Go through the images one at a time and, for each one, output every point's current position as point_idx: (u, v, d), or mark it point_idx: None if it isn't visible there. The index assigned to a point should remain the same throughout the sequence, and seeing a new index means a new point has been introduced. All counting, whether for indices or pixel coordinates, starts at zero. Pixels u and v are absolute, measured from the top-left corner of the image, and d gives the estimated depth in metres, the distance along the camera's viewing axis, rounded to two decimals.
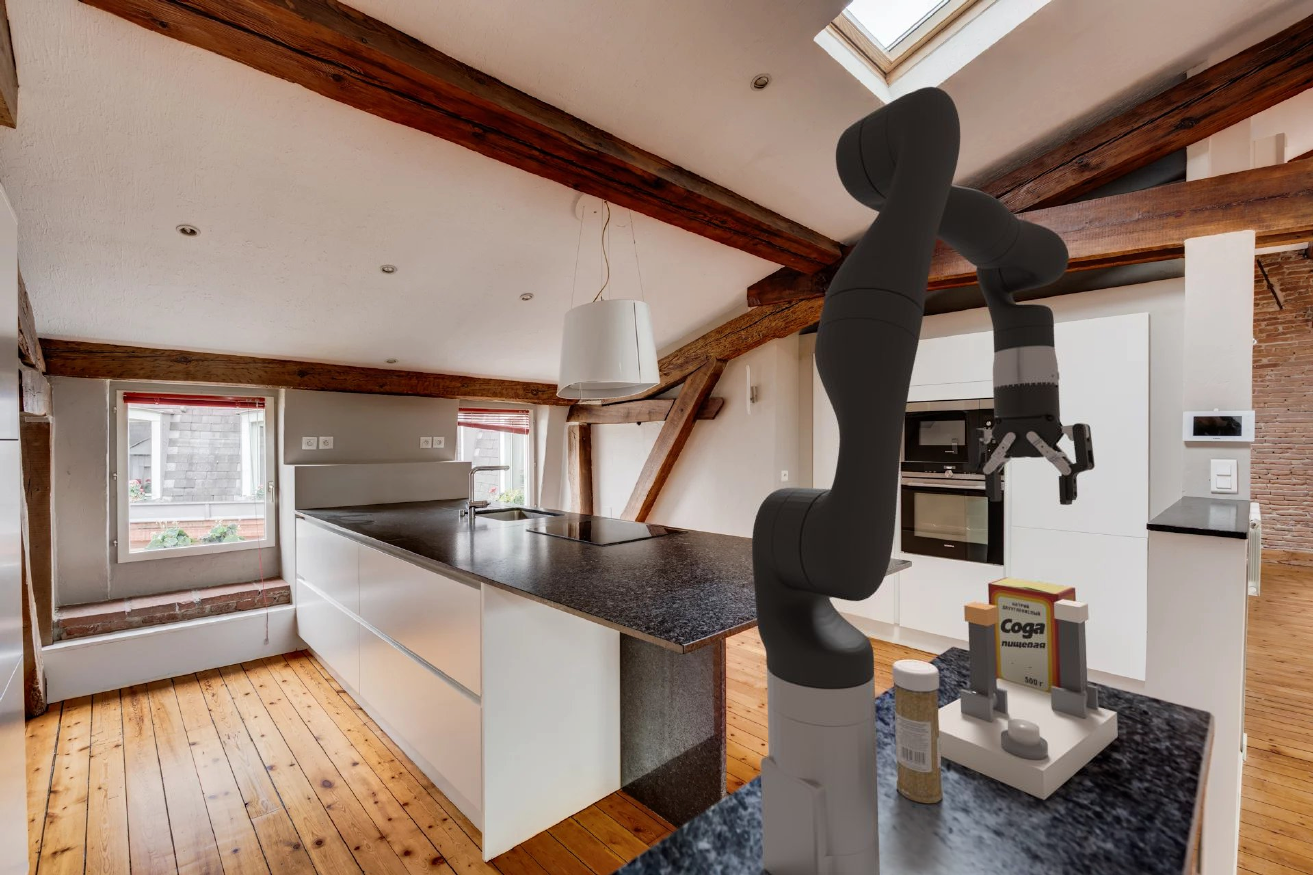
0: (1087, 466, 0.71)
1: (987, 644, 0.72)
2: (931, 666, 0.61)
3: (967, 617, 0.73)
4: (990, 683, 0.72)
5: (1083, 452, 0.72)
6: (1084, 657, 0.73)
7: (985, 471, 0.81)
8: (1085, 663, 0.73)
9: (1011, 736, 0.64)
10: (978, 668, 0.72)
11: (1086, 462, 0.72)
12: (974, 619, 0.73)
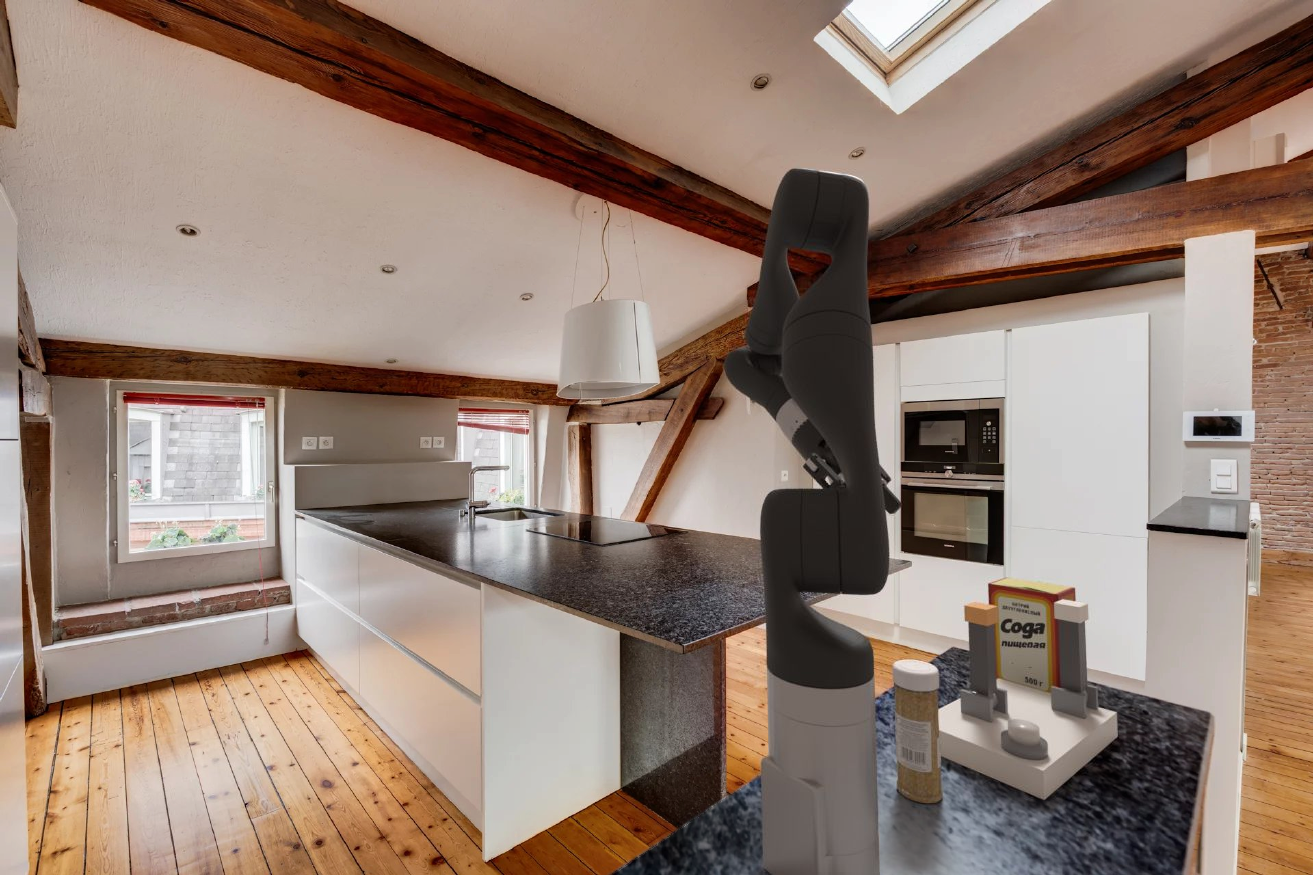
0: (889, 478, 0.84)
1: (987, 644, 0.72)
2: (931, 666, 0.61)
3: (967, 617, 0.73)
4: (990, 683, 0.72)
5: (882, 469, 0.85)
6: (1084, 657, 0.73)
7: None
8: (1085, 663, 0.73)
9: (1011, 736, 0.64)
10: (978, 668, 0.72)
11: None
12: (974, 619, 0.73)
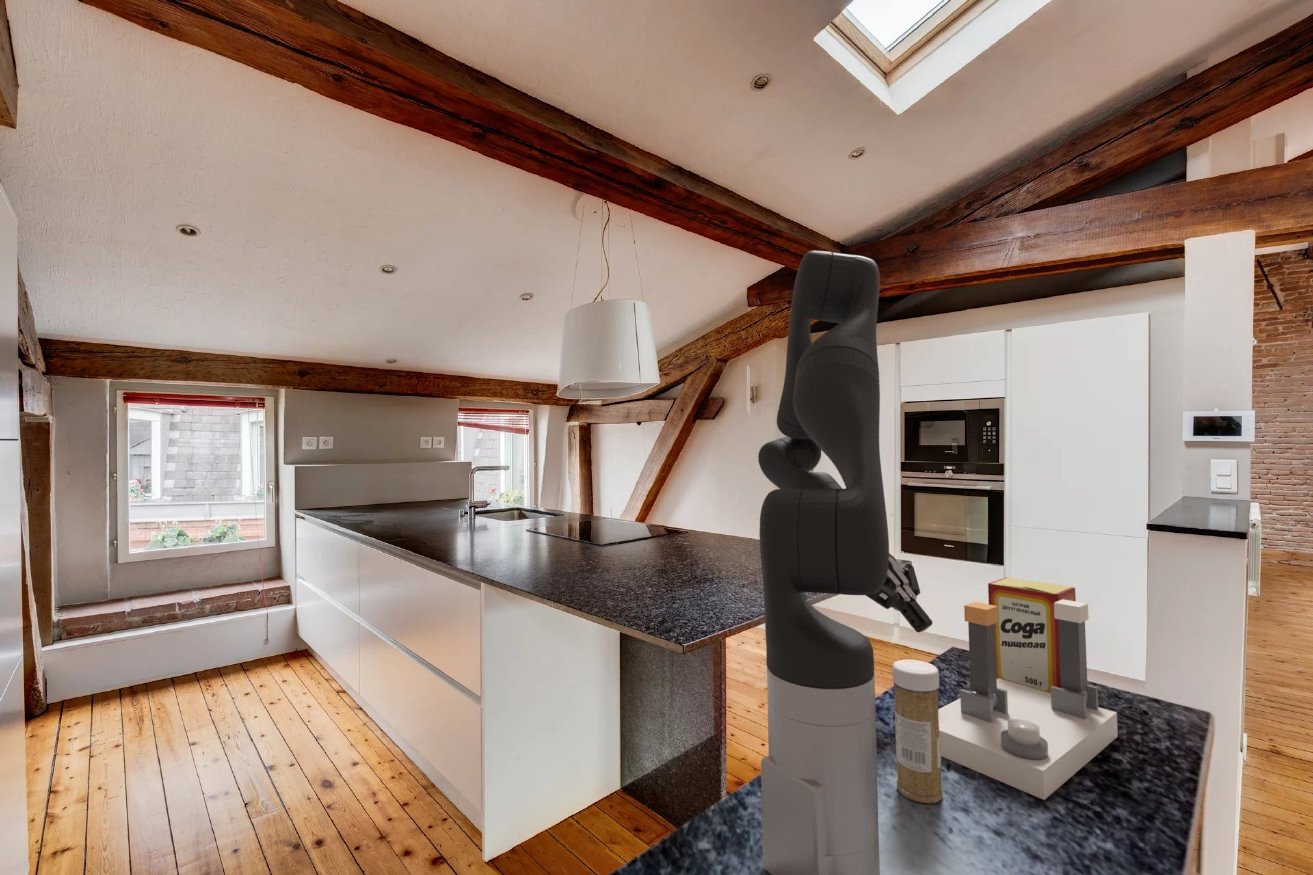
0: (918, 590, 0.83)
1: (987, 644, 0.72)
2: (931, 666, 0.61)
3: (967, 617, 0.73)
4: (990, 683, 0.72)
5: (916, 582, 0.85)
6: (1084, 657, 0.73)
7: (906, 598, 0.80)
8: (1085, 663, 0.73)
9: (1011, 736, 0.64)
10: (978, 668, 0.72)
11: None
12: (974, 619, 0.73)
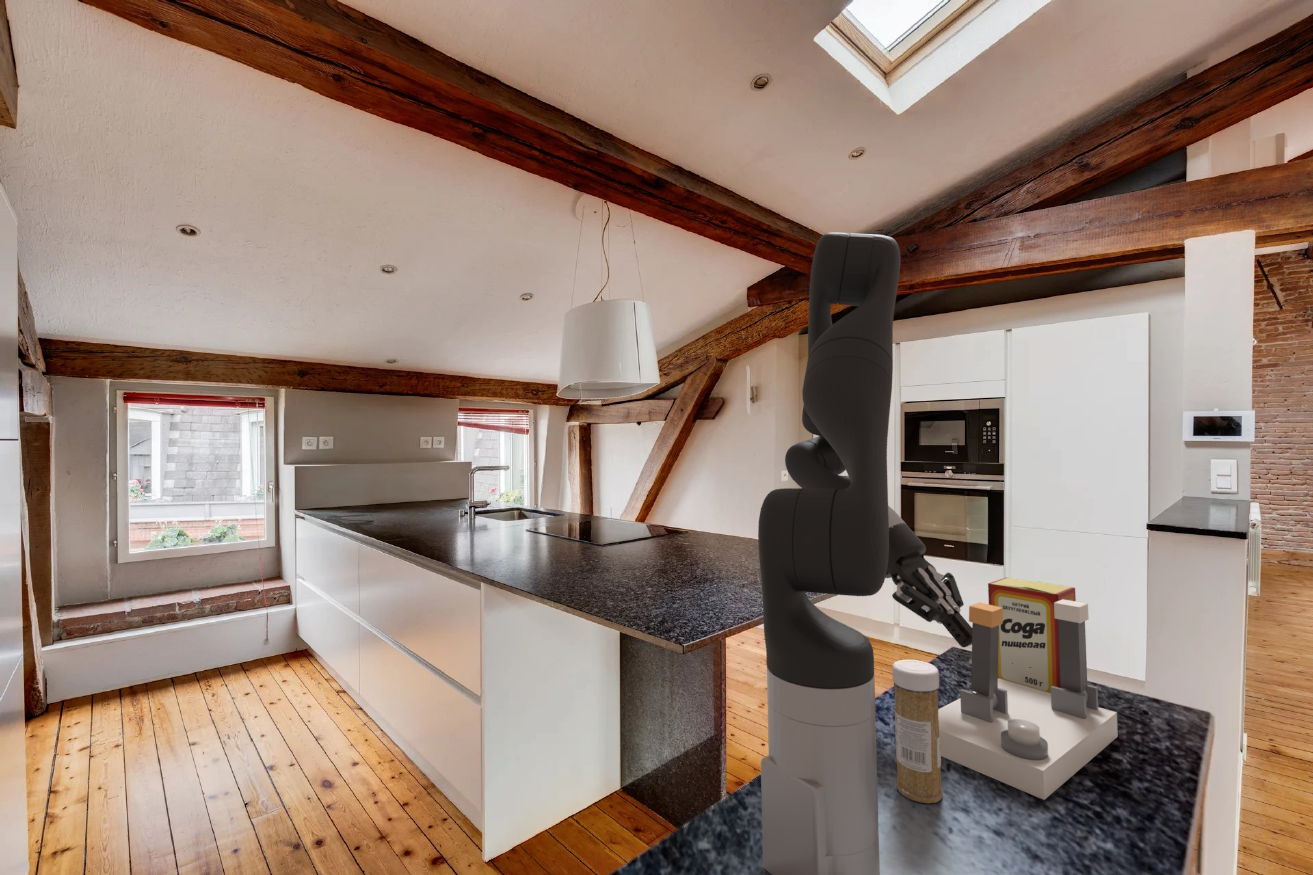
0: None
1: (990, 645, 0.71)
2: (931, 666, 0.61)
3: (971, 618, 0.73)
4: (991, 684, 0.72)
5: (958, 593, 0.79)
6: (1084, 657, 0.73)
7: (950, 611, 0.75)
8: (1085, 663, 0.73)
9: (1011, 736, 0.64)
10: (980, 669, 0.72)
11: None
12: (979, 620, 0.72)
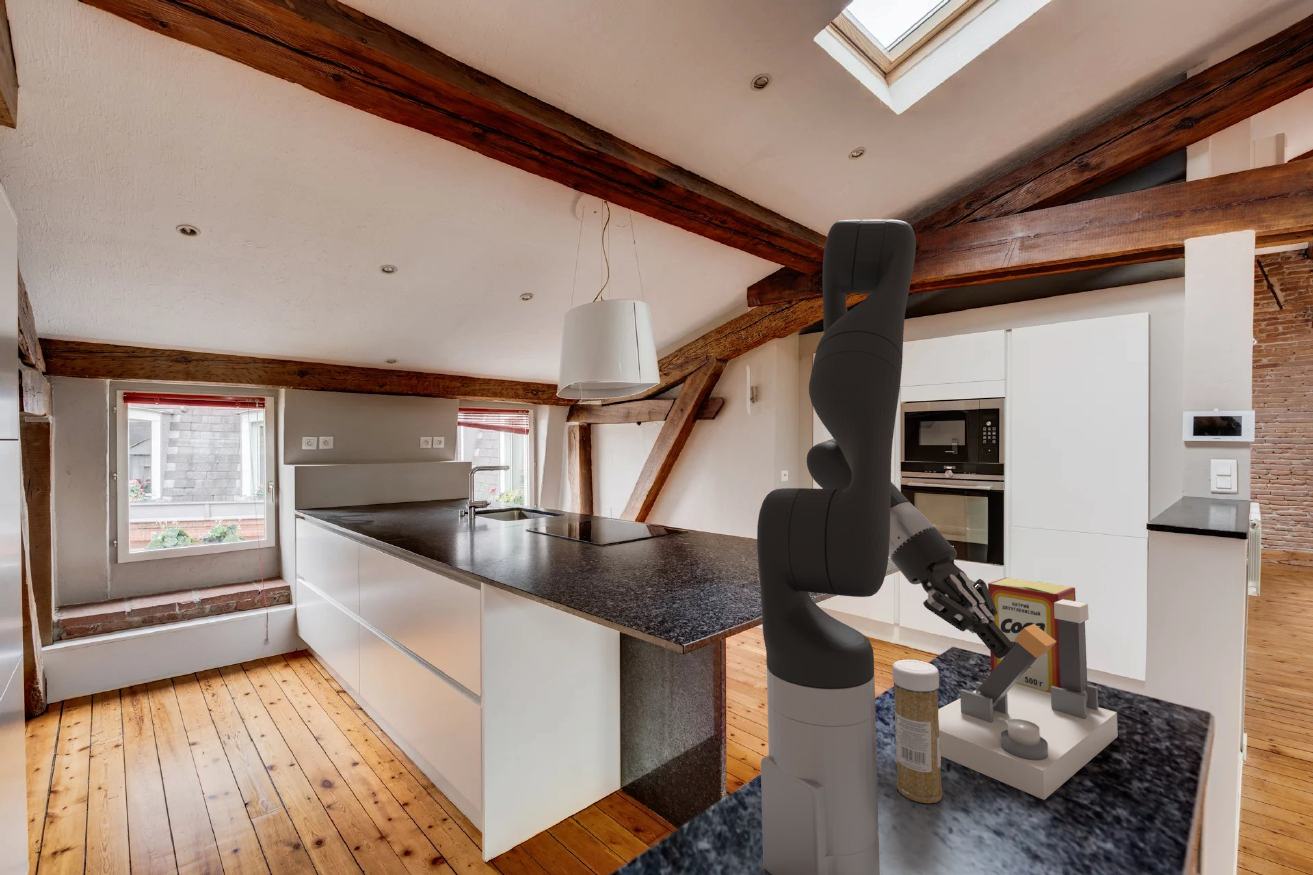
0: None
1: (1023, 669, 0.68)
2: (931, 666, 0.61)
3: (1019, 639, 0.68)
4: (1001, 695, 0.71)
5: (991, 601, 0.76)
6: (1084, 657, 0.73)
7: (985, 620, 0.72)
8: (1085, 663, 0.73)
9: (1011, 736, 0.64)
10: (998, 680, 0.71)
11: None
12: (1026, 645, 0.68)
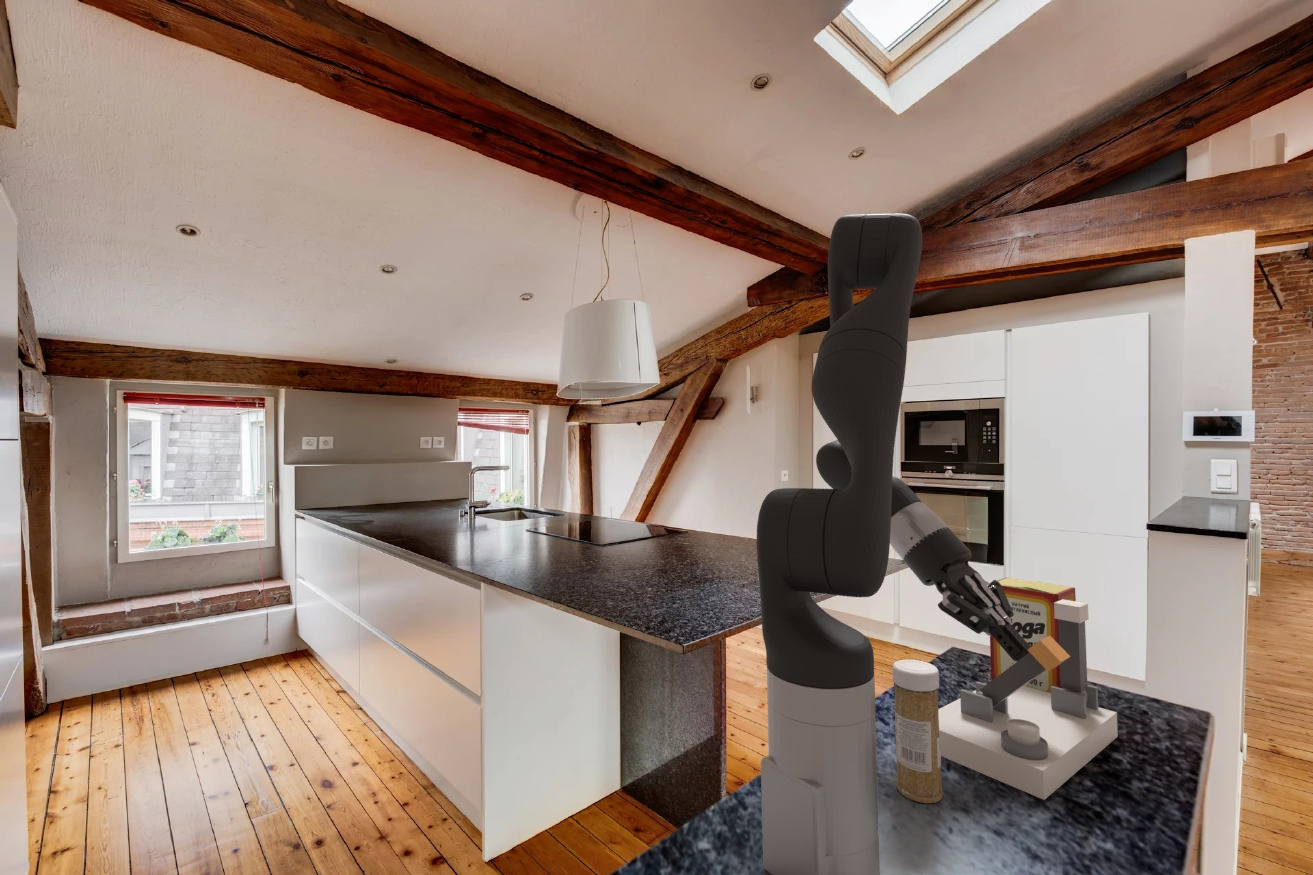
0: None
1: (1031, 679, 0.68)
2: (931, 666, 0.61)
3: (1033, 650, 0.67)
4: (1003, 699, 0.71)
5: (1007, 602, 0.74)
6: (1084, 657, 0.73)
7: (1001, 622, 0.70)
8: (1085, 663, 0.73)
9: (1011, 736, 0.64)
10: (1003, 685, 0.70)
11: None
12: (1039, 656, 0.67)
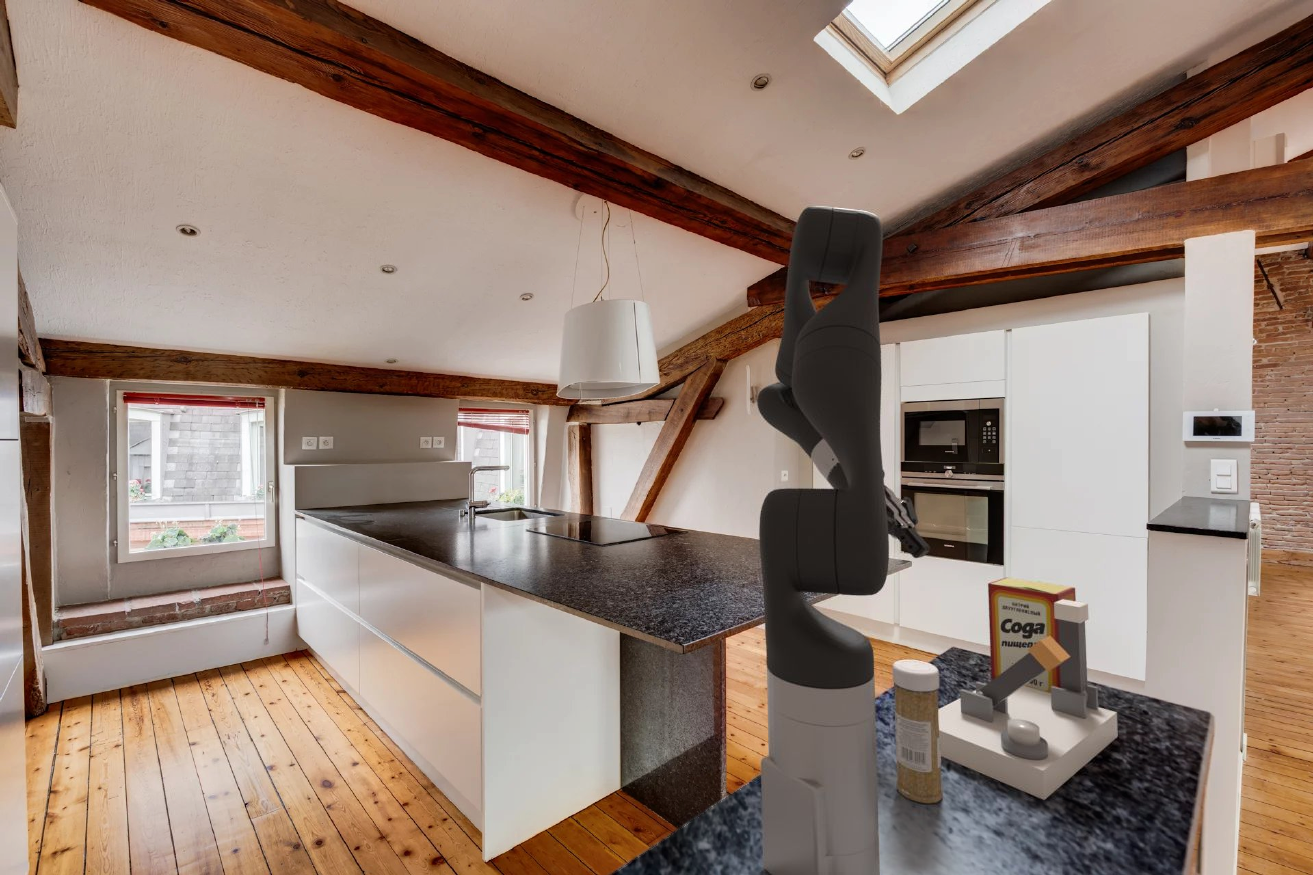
0: None
1: (1031, 679, 0.68)
2: (931, 666, 0.61)
3: (1033, 650, 0.67)
4: (1003, 699, 0.71)
5: (914, 513, 0.85)
6: (1084, 657, 0.73)
7: (904, 525, 0.81)
8: (1085, 663, 0.73)
9: (1011, 736, 0.64)
10: (1003, 685, 0.70)
11: None
12: (1039, 656, 0.67)
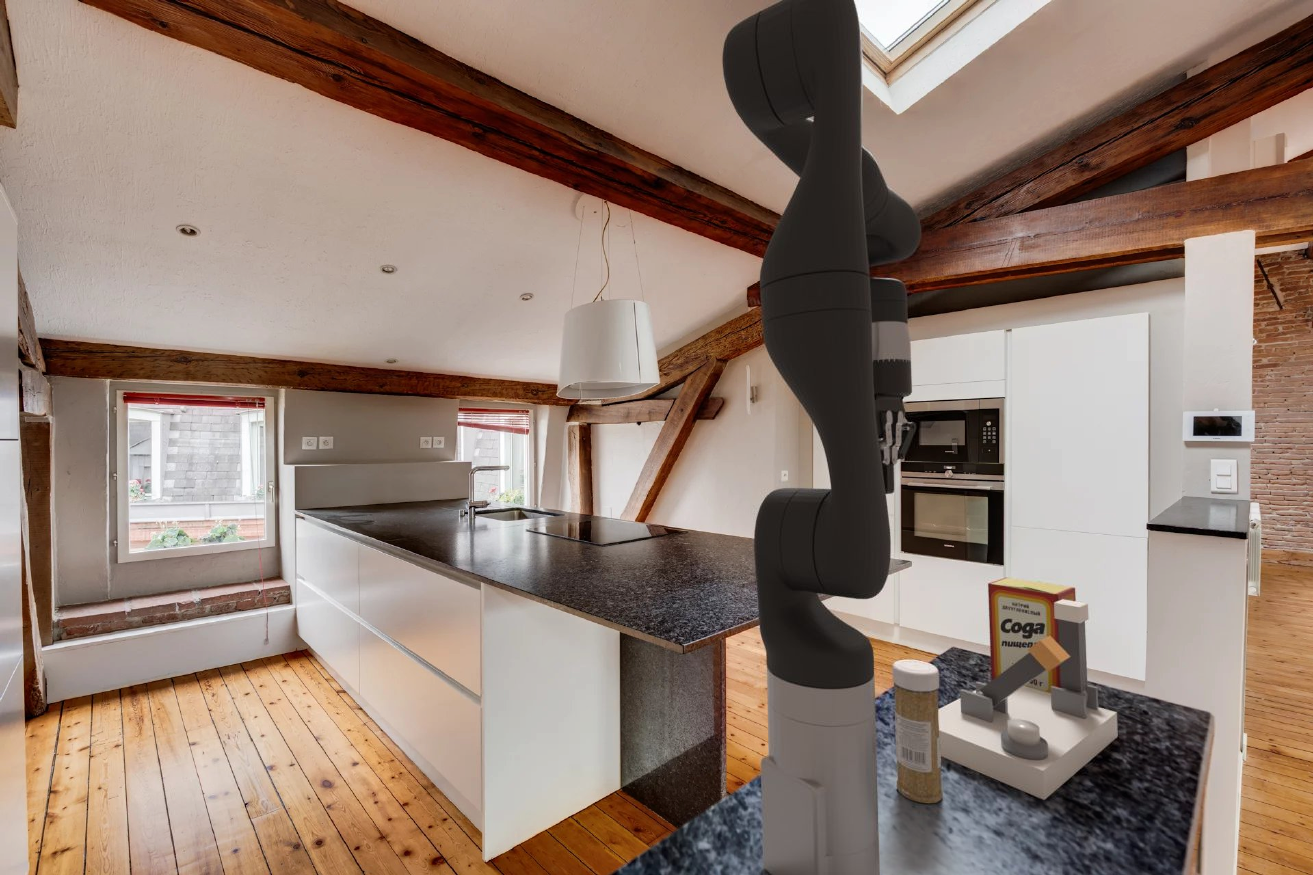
0: None
1: (1031, 679, 0.68)
2: (931, 666, 0.61)
3: (1033, 650, 0.67)
4: (1003, 699, 0.71)
5: (907, 446, 0.76)
6: (1084, 657, 0.73)
7: (886, 461, 0.73)
8: (1085, 663, 0.73)
9: (1011, 736, 0.64)
10: (1003, 685, 0.70)
11: None
12: (1039, 656, 0.67)
